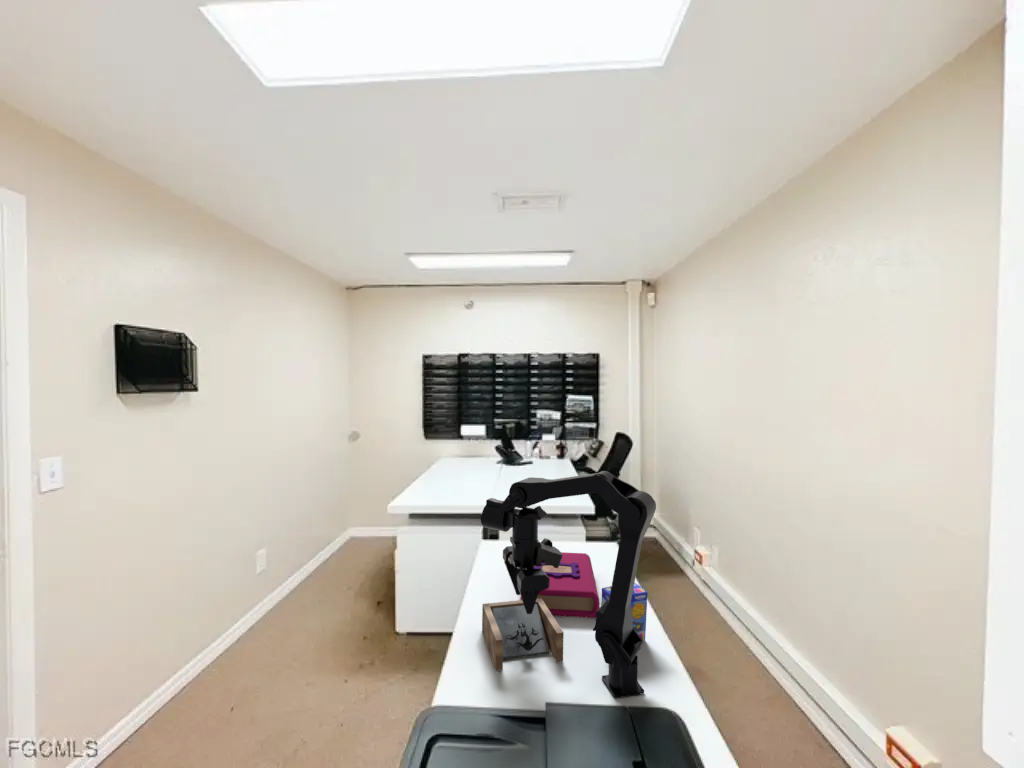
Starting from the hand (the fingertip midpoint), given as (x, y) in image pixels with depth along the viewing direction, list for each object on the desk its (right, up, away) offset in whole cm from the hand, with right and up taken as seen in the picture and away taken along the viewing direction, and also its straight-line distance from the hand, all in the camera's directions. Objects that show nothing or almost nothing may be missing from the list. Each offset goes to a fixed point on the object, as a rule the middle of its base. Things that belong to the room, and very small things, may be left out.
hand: (523, 603), depth 111 cm
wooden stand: (-1, -11, +3) cm, 11 cm away
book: (+10, -11, +31) cm, 34 cm away
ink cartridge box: (+24, -11, +6) cm, 27 cm away
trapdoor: (-1, -8, +4) cm, 9 cm away
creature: (0, -9, +1) cm, 9 cm away
